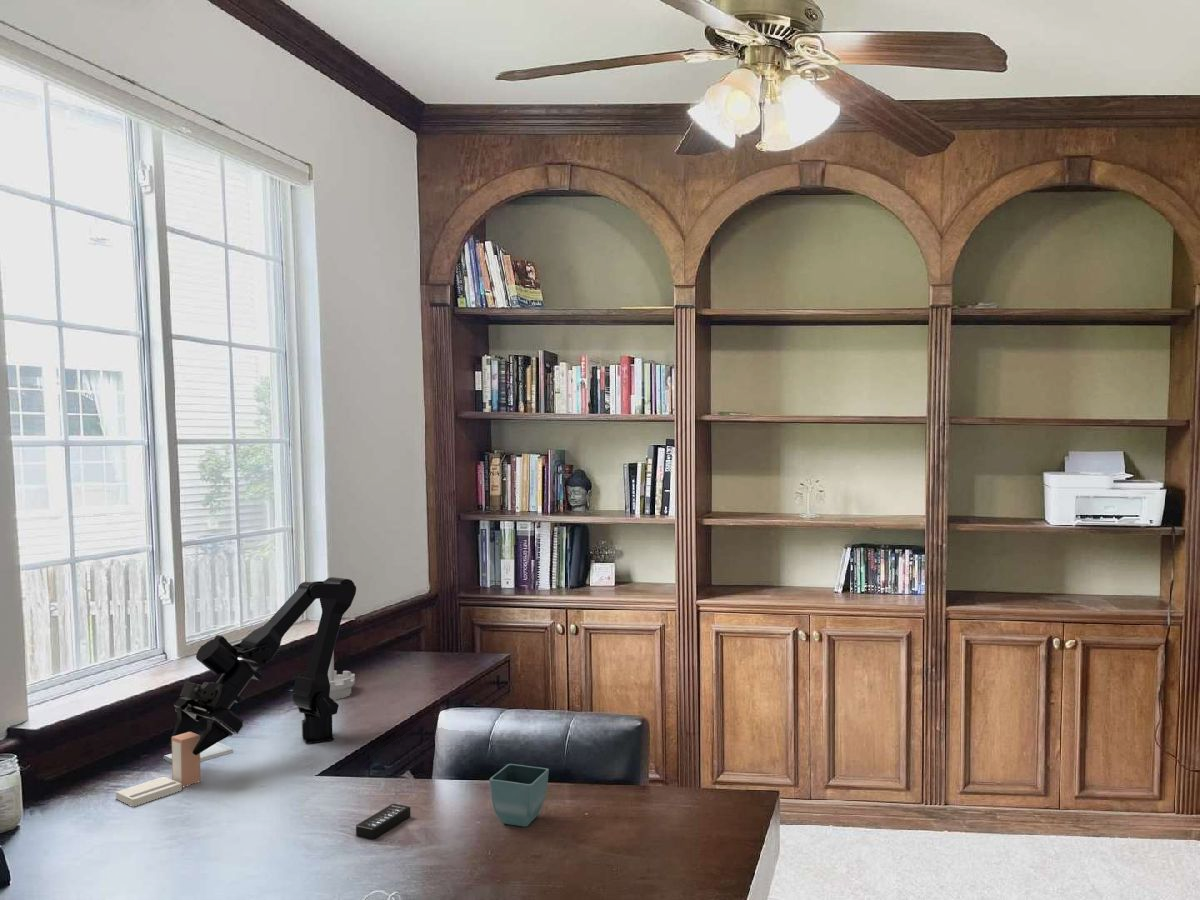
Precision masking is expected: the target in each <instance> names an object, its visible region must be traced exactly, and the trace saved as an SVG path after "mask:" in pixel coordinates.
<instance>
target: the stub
mask: <svg viewBox="0 0 1200 900" xmlns="http://www.w3.org/2000/svg"><path fill="white" fill-rule="evenodd" d="M171 737H172V736H171ZM200 738H201V737H200V734H197V733H195V732H193V731H192V732H187V733H183V734H180V735H176V736H173V737H172V746H171V754H172V764H171V771H172V772H171V777H172V778H171V780H174V781H176V782H179V783H181V784H182V787H183V786H186V787H188V786H187V785H189V784H192V783H195V782H198V781H201V780H202V779H201V762H200V753H199V754H198V755H194V754H193V753H192V752H193V750H194V748H195V746H196V745H197V743H198V741H199V740H200ZM198 783H199V782H198ZM195 784H196V783H195ZM192 785H193V784H192ZM189 786H190V785H189ZM183 788H184V787H183Z"/></svg>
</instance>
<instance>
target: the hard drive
mask: <svg viewBox="0 0 1200 900" xmlns="http://www.w3.org/2000/svg"><path fill="white" fill-rule="evenodd" d="M232 752H233V753H234V748H233V747H231V746H229V745H227V744H224V743H221V742H220V741H219V742H217V743H216V744H214V745H212V746H211V747H209V748H207V749H206V750H204V751H203V752H201V753H200V763H201V762H205V761H209V760H212V759H216V758H219V757H222V756H225V755H226V756H227V755H229V754H232ZM164 759H165V760H167V761H169V762H171V763H172V753H169V754H166V755H163V760H164ZM165 760H164V761H165ZM167 761H166V762H167ZM169 762H168V763H169ZM171 763H170V764H171Z"/></svg>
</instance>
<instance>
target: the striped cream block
mask: <svg viewBox="0 0 1200 900" xmlns="http://www.w3.org/2000/svg"><path fill="white" fill-rule="evenodd" d="M181 790H184V787H182V784H181V783H179V782H176V781H174V780H172V778H168V777H166V776H162V777H158V778H154V779H151V780H149V781H145V782H142V783H139V784H136V785H133V786H130V787H129V786H128V787H126V788H123V789H120V790H117V791H115V800H116V799H118V800H117V801H119V800H120V801H119V802H121V801H122V802H121V803H123V802H124V804H125V803H126V804H125V805H127V804H128V806H130V805H131V806H130V807H132V806H133V807H132V808H134V806H135V807H138V806H141V805H143V803H144V804H147V803H150V802H152V801H151V800H153V801H155V799H156V800H158V798H159V799H161V798H160V797H162V798H164V796H165V797H167V796H170V795H173V794H176V793H179V792H181ZM178 791H179V792H178ZM175 792H176V793H175ZM172 793H173V794H172ZM169 794H170V795H169ZM166 795H167V796H166ZM149 801H150V802H149ZM146 802H147V803H146ZM140 804H141V805H140ZM137 805H138V806H137Z"/></svg>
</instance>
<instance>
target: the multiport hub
mask: <svg viewBox="0 0 1200 900" xmlns="http://www.w3.org/2000/svg"><path fill="white" fill-rule="evenodd" d="M411 814H412V813H411V806H408V805H403V804H398V803H391V804H390V805H388V806H386V807H384V808H383V809H381V810H379V811H378V812H376V813H374V814H372V815H371V816H369V817H367V818H366V819H364V820H363V821H361V822H359V823H357V824H356V825H355V836H356V837H358V838H363V839H367V840H370V841H374V840H377V839H379V838H380V837H382V836H384V835H385V834H386V832H387V833H388V832H390V831H392V830H393V829H395V828H396V827H398V826H399V825H401V824H403V823H404V822H406V821H407V820H409V819H410V818H411V816H412V815H411ZM408 818H409V819H408ZM405 820H406V821H405ZM402 822H403V823H402Z"/></svg>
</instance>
